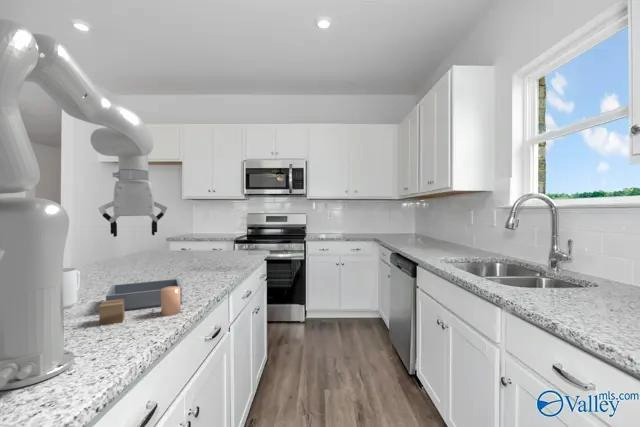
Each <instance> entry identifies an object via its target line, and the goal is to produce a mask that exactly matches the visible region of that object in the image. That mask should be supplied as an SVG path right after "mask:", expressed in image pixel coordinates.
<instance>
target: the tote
mask: <svg viewBox="0 0 640 427" xmlns="http://www.w3.org/2000/svg"><path fill="white" fill-rule="evenodd" d="M170 286H178V287H180V303H181V305H182V303H183V302H182V300H183V299H182V296H183V294H182V292H183V291H182V290H183V289H182V286H181V282H180V279H179V278H173V279H172V278H171V279H163V280H153V281H152V280H151V281H141V282H130V283H121V284H112V285H111V286H110V288H109V290H108V292H107V294H106V295H105V301H111V300H119V299H124V312H129V311H130V310H131V311H136V310H143V309H144V310H146V309H152V308H161V289H162V288H165V287H170Z"/></svg>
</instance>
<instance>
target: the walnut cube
mask: <svg viewBox="0 0 640 427" xmlns="http://www.w3.org/2000/svg"><path fill="white" fill-rule="evenodd" d="M98 308H99V309H98V310H99V311H98V312H99V314H98V317H99V318H98V319H99V324H98V325H99V327H100V326H101V325H102V326H107V325H108V324H109V325H115V324H114V323H116V324H122V323H124V320H125V311H124V299H119V300H111V301H106V300H104V301H101V302H100V305H99V306H98ZM109 325H108V326H109Z"/></svg>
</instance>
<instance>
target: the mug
mask: <svg viewBox="0 0 640 427" xmlns="http://www.w3.org/2000/svg"><path fill="white" fill-rule="evenodd" d="M80 272H81V271H80V270H78V268H75V267H63V310H66V309H71V308H73V307H74V306H76V304H77V303H78V301H79V296H78V295H79V293H78V292H79V291H78V290H79V289H80V276H81V275H80V274H81V273H80Z"/></svg>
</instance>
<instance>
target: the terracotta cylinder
mask: <svg viewBox="0 0 640 427" xmlns="http://www.w3.org/2000/svg"><path fill="white" fill-rule="evenodd" d="M181 305H182V304H181V303H180V287H178V286H170V287H165V288H162V289H161V307H160V315H161V316H164V317H170V316H176V315H178V314H180V313H181Z"/></svg>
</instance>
